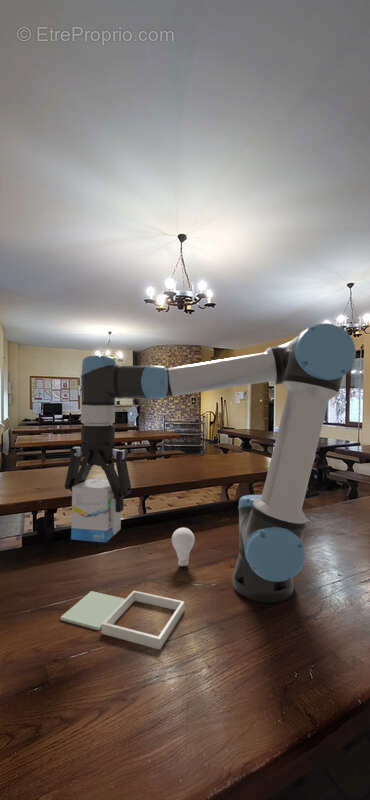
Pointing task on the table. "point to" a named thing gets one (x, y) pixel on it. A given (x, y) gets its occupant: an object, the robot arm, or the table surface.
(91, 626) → the mat
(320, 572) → the table surface
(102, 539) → the ink box
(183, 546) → the light bulb
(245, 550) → the robot arm
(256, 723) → the table surface
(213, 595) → the table surface
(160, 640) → the tray rim
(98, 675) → the table surface
